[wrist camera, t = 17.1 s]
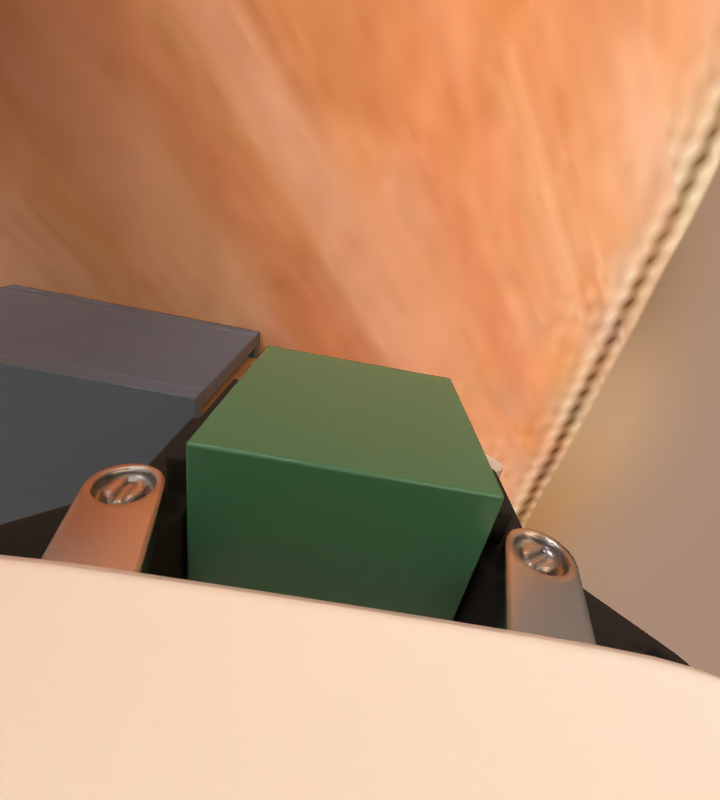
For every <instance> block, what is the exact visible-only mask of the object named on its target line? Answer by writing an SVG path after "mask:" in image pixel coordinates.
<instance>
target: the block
mask: <svg viewBox="0 0 720 800" xmlns="http://www.w3.org/2000/svg"><path fill="white" fill-rule="evenodd" d="M186 484H187V570H188V580H192V581H199V582H205V583H212V584H219V585H225V586H232V587H239V588H245V589H252V590H259V591H265V592H272V593H278V594H285V595H291V596H297V597H304V598H310V599H317V600H323V601H330V602H336V603H343V604H349V605H355V606H362V607H368V608H375V609H381V610H387V611H394V612H400V613H407V614H413V615H419V616H425V617H431V618H438V619H444V620H450V621H453V619H454V617H455V614H456V612H457V610H458V607H459V605H460V603H461V600H462V598H463V596H464V593H465V591H466V588H467V586H468V584H469V581H470V579H471V577H472V574H473V572H474V569H475V567H476V565H477V562H478V560H479V558H480V555H481V553H482V551H483V548H484V546H485V543H486V541H487V539H488V536H489V534H490V532H491V529H492V527H493V524H494V522H495V520H496V517H497V515H498V513H499V510H500V508H501V505H502V503H503V501H504V494H503V492H502V490H501V488H500V486H499V483H498V481H497V479H496V477H495V475H494V473H493V470H492V468H491V466H490V464H489V462H488V460H487V457H486V455H485V453H484V451H483V449H482V447H481V444H480V442H479V440H478V438H477V436H476V434H475V431H474V429H473V427H472V425H471V423H470V421H469V418H468V416H467V414H466V412H465V410H464V408H463V405H462V403H461V401H460V399H459V397H458V395H457V392H456V390H455V388H454V386H453V384H452V382H451V379H449V378H444V377H438V376H433V375H427V374H422V373H416V372H411V371H405V370H400V369H394V368H389V367H383V366H378V365H372V364H367V363H361V362H356V361H350V360H345V359H339V358H334V357H328V356H323V355H317V354H312V353H306V352H301V351H295V350H290V349H284V348H279V347H273V346H267V347H266V348H265V350H264V351H263V352H262V353H261V354H260V356H259V357H258V358H257V359H256V360H255V362H254V363H253V364H252V365H251V366H250V368H249V369H248V370H247V371H246V372H245V373H244V375H243V376H242V377H241V378H240V379H239V381H238V382H237V383H236V384H235V385H234V387H233V388H232V389H231V390H230V391H229V393H228V394H227V395H226V396H225V397H224V399H223V400H222V401H221V402H220V403H219V404H218V406H217V407H216V408H215V409H214V410H213V412H212V413H211V414H210V415H209V416H208V418H207V419H206V420H205V421H204V422H203V424H202V425H201V426H200V427H199V428H198V430H197V431H196V432H195V433H194V434H193V435H192V437H191V438H190V439H189V440H188V441H187V443H186Z"/></svg>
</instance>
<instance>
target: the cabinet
mask: <svg viewBox="0 0 720 800" xmlns="http://www.w3.org/2000/svg"><path fill="white" fill-rule="evenodd" d="M259 342H260V332H259V331H254V330H249V329H244V328H239V327H233V326H228V325H223V324H218V323H212V322H207V321H202V320H197V319H191V318H186V317H181V316H176V315H170V314H165V313H160V312H155V311H149V310H144V309H139V308H134V307H128V306H123V305H118V304H113V303H107V302H102V301H97V300H92V299H86V298H81V297H76V296H71V295H65V294H60V293H55V292H50V291H44V290H39V289H34V288H29V287H23V286H18V285H9V286H4V287H0V525H1V524H4V523H8V522H11V521H15V520H18V519H22V518H25V517H28V516H32V515H35V514H39V513H42V512H46V511H49V510H53V509H56V508H59V507H63V506H66V505H70V504H72V503H73V501H74V499H75V498H76V496H77V494H78V492H79V490H80V489H81V487H82V485H83V484H84V483H85V482H86V481H87V479H88V478H90V477H91V476H93V475H94V474H96V473H97V472H99V471H101V470H104V469H106V468H109V467H113V466H117V465H121V464H133V463H134V464H145V465H149V464H150V463H151V462H152V461H153V460H154V458H155V457H156V456H157V455H158V454H159V453H160V452H161V451H162V450H163V449H164V448H165V446H166V445H167V444H168V443H169V442H170V441H171V440H172V439H173V438H174V437H175V436H176V434H177V433H178V432H179V431H180V430H181V429H182V428H183V427H184V426H185V425H186V423H187V422H188V421H189V420H190V419H192V418H194V417H196V418H200V417H201V416H202V415H203V406H204V405H205V404H206V402H207V401H208V400H209V399H210V398H211V397H212V396H213V395H214V393H215V392H216V391H217V390H218V389H219V388H220V387H221V386H222V384H223V383H224V382H225V381H226V380H227V379H228V378H229V377H230V376H231V374H232V373H233V372H234V371H235V370H236V369H237V368H238V367H239V365H240V364H241V363H242V362H243V361H244V360H245V359H246V358H247V357H250V358H255V359H257V358H258V354H259Z"/></svg>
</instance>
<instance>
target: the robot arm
mask: <svg viewBox="0 0 720 800" xmlns="http://www.w3.org/2000/svg"><path fill="white" fill-rule="evenodd" d="M238 381H239V379H234V380H233V381H232V382H231V383H230V384H229V385H228V386H227V387H226V388H225V390H224V391H223V392H222V393H221V394H220V395H219V396H218V398H217V399H216V400H215V401H214V402H213V403H212V404H211V406H210V407H209V408H208V409H207V410H206V411H205V412H204V414H203V415H202V416H201V417H200V418H196V417H194V418H192V419H190V420H189V421H188V422H187V423H186V425H185V426H184V427H183V428H182V429H181V430H180V431H179V432H178V433H177V434H176V436H175V437H174V438H173V439H172V440H171V441H170V442H169V443H168V444H167V445H166V446H165V448H164V449H163V450H162V451H161V452H160V453H159V454H158V455H157V456H156V457H155V458H154V460H153V461H152V462H151V463H150V464H149V465H145V464H134V463H133V464H121V465H117V466H113V467H109V468H106V469H104V470H101V471H99V472H97V473H96V474H94V475H93V476H91V477H90V478H88V479H87V481H86V482H85V483H84V484H83V485H82V487H81V489H80V490H79V492H78V494H77V496H76V498H75V499H74V501H73V503H72V504H70V505H66V506H63V507H59V508H56V509H53V510H49V511H46V512H42V513H39V514H35V515H32V516H28V517H25V518H22V519H18V520H15V521H11V522H8V523H4V524H1V525H0V800H720V677H717V676H714V675H712V674H709V673H706V672H704V671H701V670H698V669H696V668H693V667H690V666H689V665H688V664H687V663H686V662H685V661H684V660H683V659H681V658H680V657H679V656H678V655H676V654H675V653H674V652H672V651H671V650H669V649H668V648H667V647H665V646H664V645H662V644H661V643H660V642H658V641H657V640H655V639H654V638H653V637H651V636H650V635H648V634H647V633H645V632H644V631H643V630H641V629H640V628H638V627H637V626H635V625H634V624H633V623H631V622H630V621H628V620H627V619H626V618H624V617H623V616H621V615H620V614H618V613H617V612H616V611H614V610H613V609H611V608H610V607H609V606H607V605H606V604H604V603H603V602H601V601H600V600H599V599H597V598H596V597H594V596H593V595H591V594H590V593H589V592H587V591H585V590H584V589H583V587H582V583H581V579H580V574H579V570H578V567H577V564H576V562H575V560H574V558H573V556H572V555H571V554H570V553H569V551H568V550H567V549H566V548H565V547H564V546H562V545H561V544H560V543H559V542H558V541H556V540H555V539H553V538H552V537H550V536H548V535H546V534H544V533H542V532H539V531H536V530H532V529H528V528H522V526H521V524H520V522H519V520H518V518H517V516H516V514H515V511H514V509H513V507H512V505H511V503H510V501H509V499H508V497H507V494H506V492H505V490H504V488H503V486H502V484H501V482H500V479H499V477H498V475H497V473H496V472H495V470H494V469H492V470H493V473H494V475H495V477H496V479H497V481H498V483H499V486H500V488H501V490H502V492H503V494H504V501H503V503H502V505H501V508H500V510H499V513H498V515H497V517H496V520H495V522H494V524H493V527H492V529H491V532H490V534H489V536H488V539H487V541H486V543H485V546H484V548H483V551H482V553H481V555H480V558H479V560H478V562H477V565H476V567H475V569H474V572H473V574H472V577H471V579H470V581H469V584H468V586H467V588H466V591H465V593H464V596H463V598H462V600H461V603H460V605H459V607H458V610H457V612H456V614H455V617H454V619H453V621H450V620H444V619H438V618H431V617H425V616H419V615H413V614H407V613H400V612H394V611H387V610H381V609H375V608H368V607H362V606H355V605H349V604H343V603H336V602H330V601H323V600H317V599H310V598H304V597H297V596H291V595H285V594H278V593H272V592H265V591H259V590H252V589H245V588H239V587H232V586H225V585H219V584H212V583H205V582H199V581H192V580H188V570H187V484H186V443H187V441H188V440H189V439H190V438H191V437H192V435H193V434H194V433H195V432H196V431H197V430H198V428H199V427H200V426H201V425H202V424H203V422H204V421H205V420H206V419H207V418H208V416H209V415H210V414H211V413H212V412H213V410H214V409H215V408H216V407H217V406H218V404H219V403H220V402H221V401H222V400H223V399H224V397H225V396H226V395H227V394H228V393H229V391H230V390H231V389H232V388H233V387H234V385H235V384H236V383H237V382H238Z"/></svg>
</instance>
